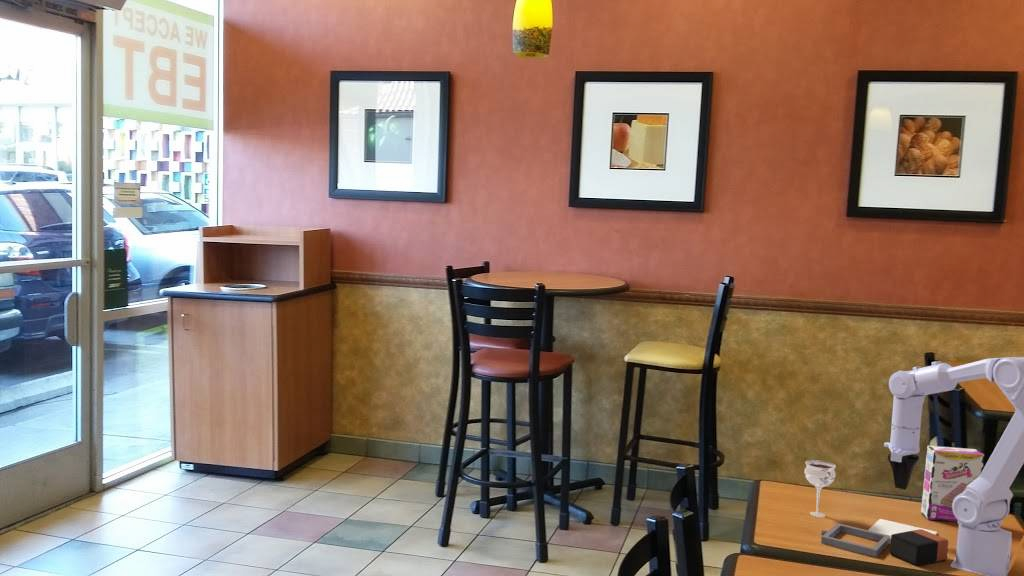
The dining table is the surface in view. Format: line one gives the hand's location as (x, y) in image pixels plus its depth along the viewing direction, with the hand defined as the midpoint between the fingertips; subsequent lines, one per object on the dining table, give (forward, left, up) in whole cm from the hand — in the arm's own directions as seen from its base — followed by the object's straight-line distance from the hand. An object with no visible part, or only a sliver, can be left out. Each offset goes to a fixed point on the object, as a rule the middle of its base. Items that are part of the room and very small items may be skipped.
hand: (900, 487), depth 191 cm
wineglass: (+17, 0, -11) cm, 20 cm away
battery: (-4, +15, -8) cm, 18 cm away
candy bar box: (-7, -20, -11) cm, 24 cm away
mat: (-1, -1, -10) cm, 10 cm away
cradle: (+5, +12, -10) cm, 17 cm away
